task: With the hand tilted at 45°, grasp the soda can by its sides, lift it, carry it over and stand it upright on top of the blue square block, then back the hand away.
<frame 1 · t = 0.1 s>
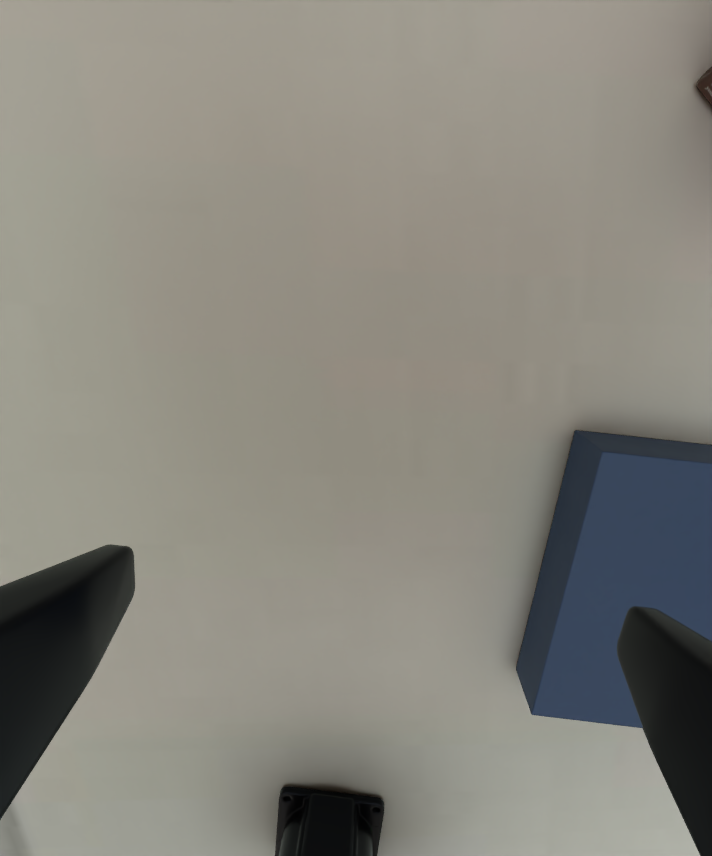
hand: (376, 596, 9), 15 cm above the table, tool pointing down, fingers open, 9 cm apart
blue square block: (675, 574, 25), on the table
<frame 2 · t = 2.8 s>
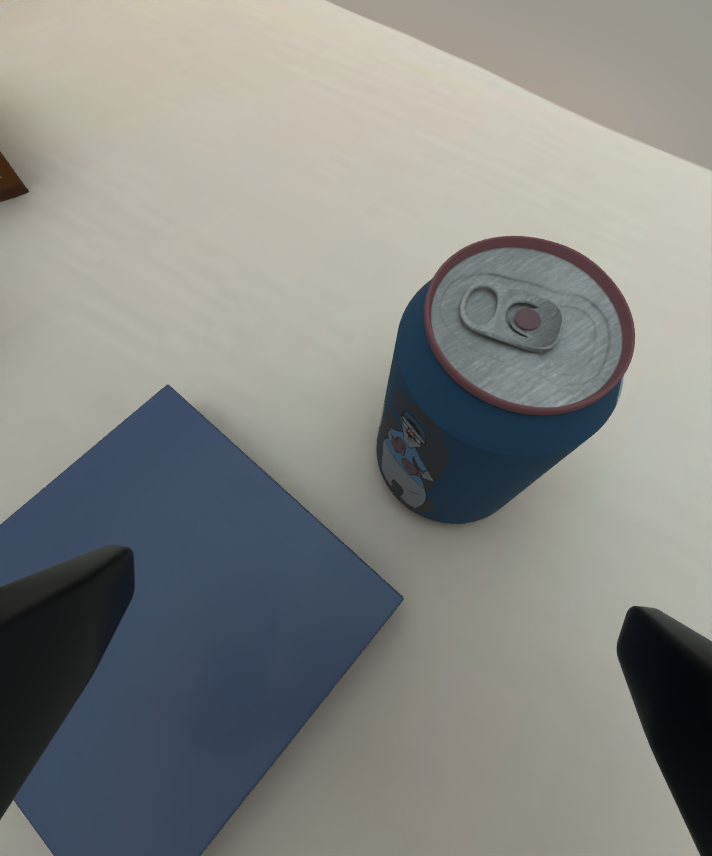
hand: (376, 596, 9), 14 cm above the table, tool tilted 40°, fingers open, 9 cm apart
soda can: (443, 461, 24), on the table
blue square block: (174, 612, 21), on the table
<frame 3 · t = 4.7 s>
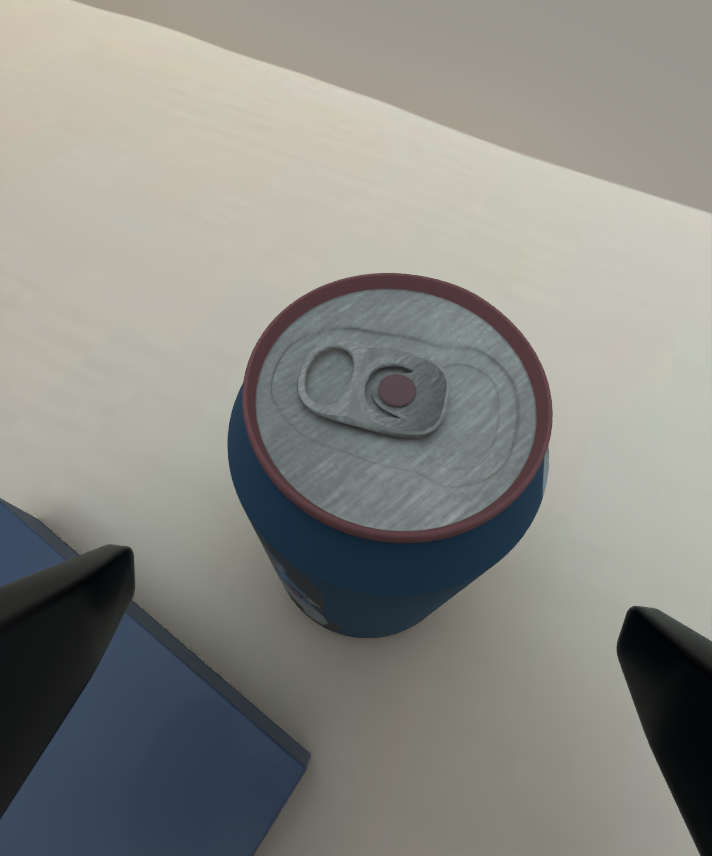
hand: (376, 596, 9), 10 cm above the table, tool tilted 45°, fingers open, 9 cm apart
soda can: (364, 548, 20), on the table
blue square block: (3, 813, 15), on the table
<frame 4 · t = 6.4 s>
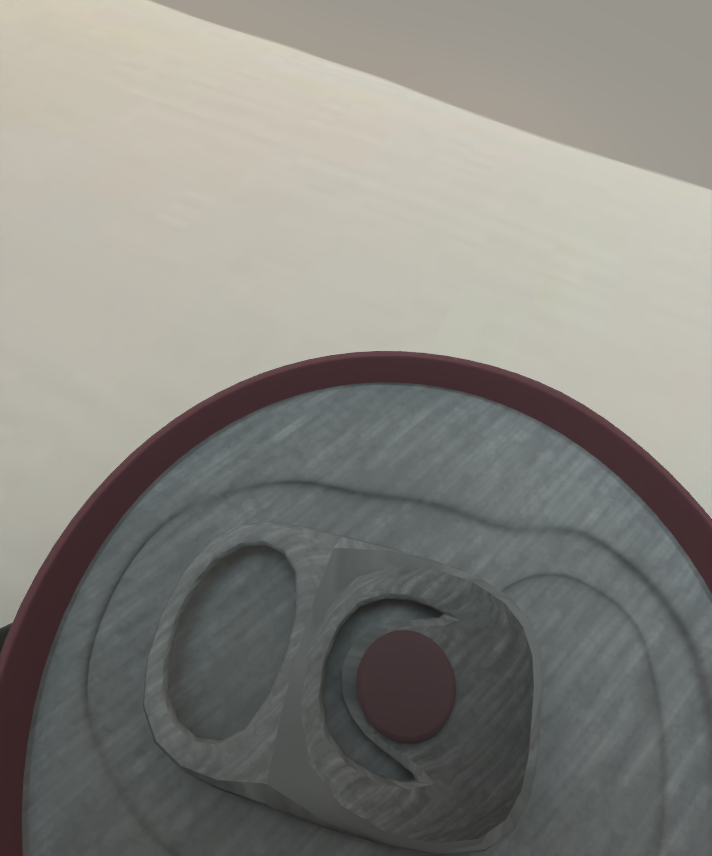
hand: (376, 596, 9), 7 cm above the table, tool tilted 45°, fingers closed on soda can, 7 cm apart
soda can: (353, 681, 14), on the table, touching gripper
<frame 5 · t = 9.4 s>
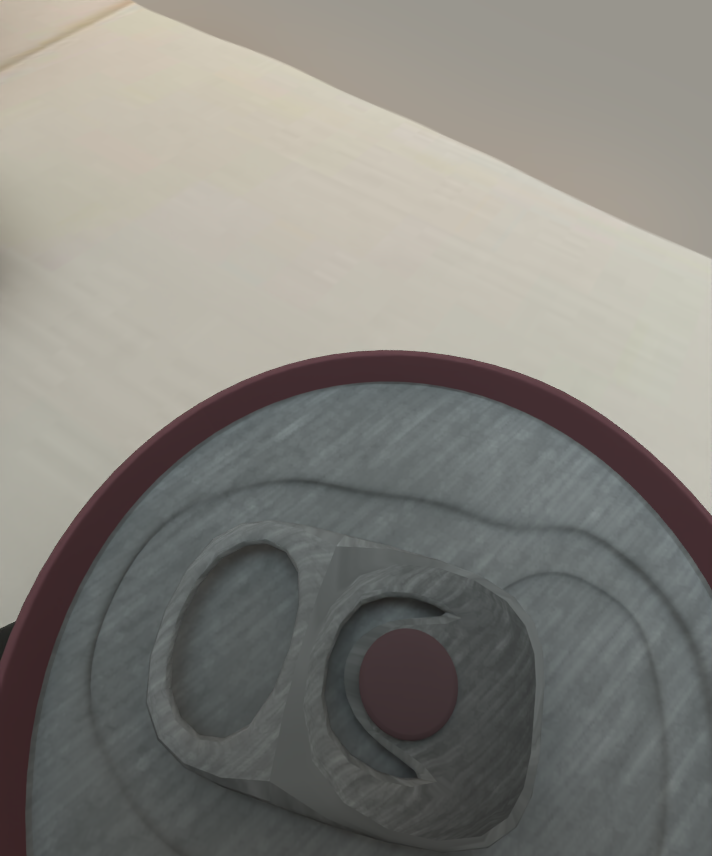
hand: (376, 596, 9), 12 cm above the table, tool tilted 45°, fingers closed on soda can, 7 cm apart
soda can: (354, 681, 14), point 5 cm above the table, touching gripper
when the fingers open (10 cm above the table, at t = 12.3 s): soda can stays where it is, resting on blue square block.
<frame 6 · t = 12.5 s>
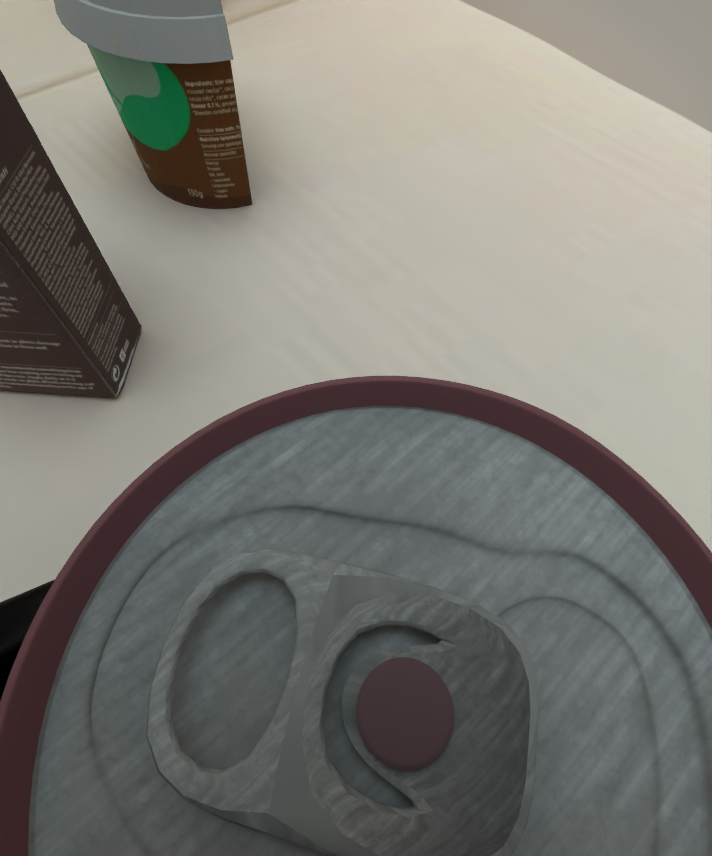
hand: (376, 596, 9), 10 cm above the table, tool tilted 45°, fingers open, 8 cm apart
food container: (179, 170, 29), on the table
soda can: (353, 687, 14), point 3 cm above the table, touching blue square block
box: (71, 358, 23), on the table
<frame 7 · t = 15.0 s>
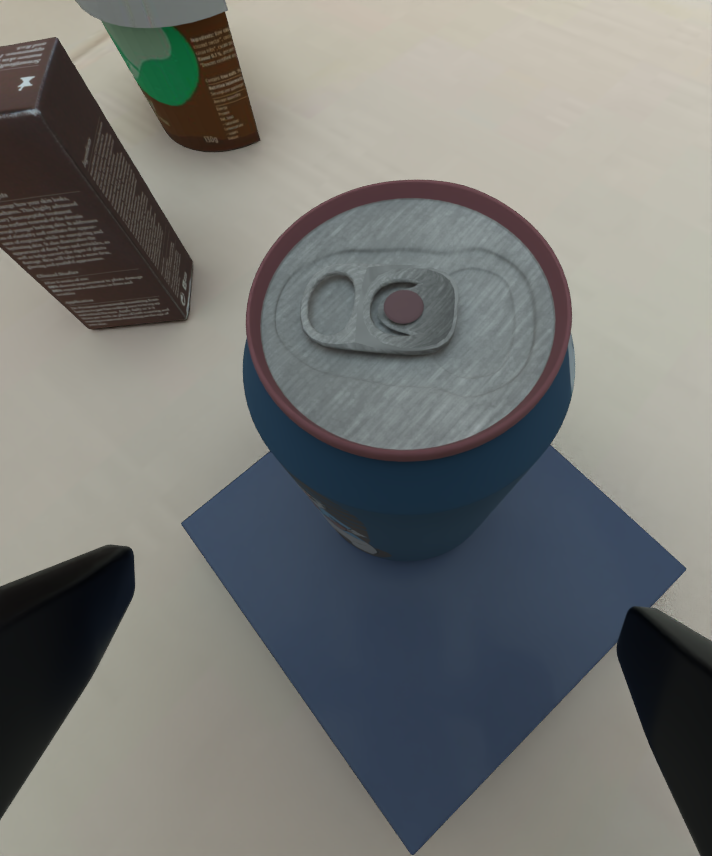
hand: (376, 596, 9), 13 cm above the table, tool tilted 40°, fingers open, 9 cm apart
food container: (192, 122, 33), on the table
soda can: (403, 477, 20), point 3 cm above the table, touching blue square block
blue square block: (416, 553, 21), on the table
box: (143, 296, 28), on the table
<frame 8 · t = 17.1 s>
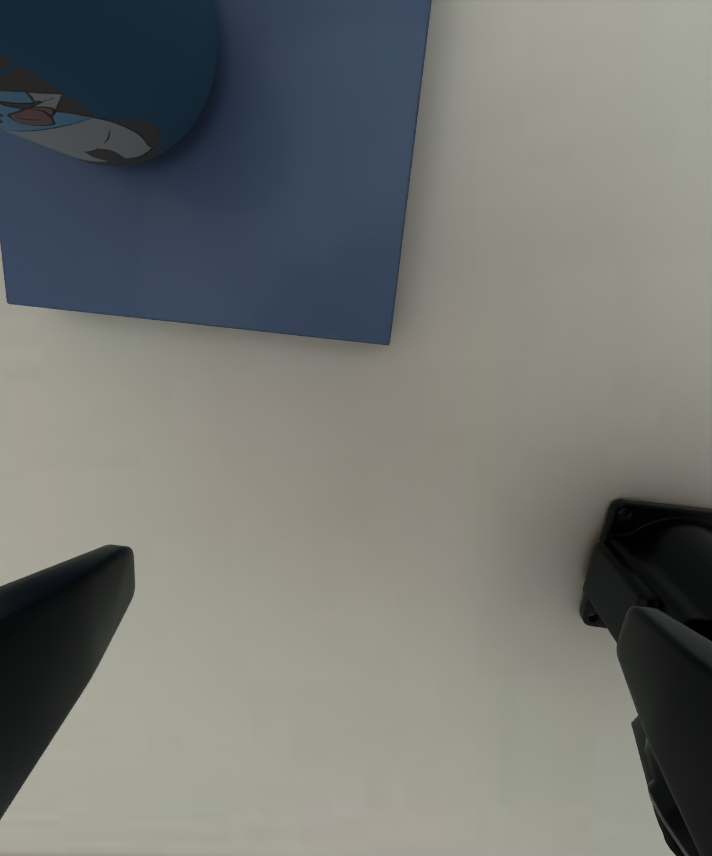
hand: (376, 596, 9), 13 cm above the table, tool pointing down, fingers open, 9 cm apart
soda can: (124, 54, 15), point 3 cm above the table, touching blue square block
blue square block: (225, 136, 18), on the table
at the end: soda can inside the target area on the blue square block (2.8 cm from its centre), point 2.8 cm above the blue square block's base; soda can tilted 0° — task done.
